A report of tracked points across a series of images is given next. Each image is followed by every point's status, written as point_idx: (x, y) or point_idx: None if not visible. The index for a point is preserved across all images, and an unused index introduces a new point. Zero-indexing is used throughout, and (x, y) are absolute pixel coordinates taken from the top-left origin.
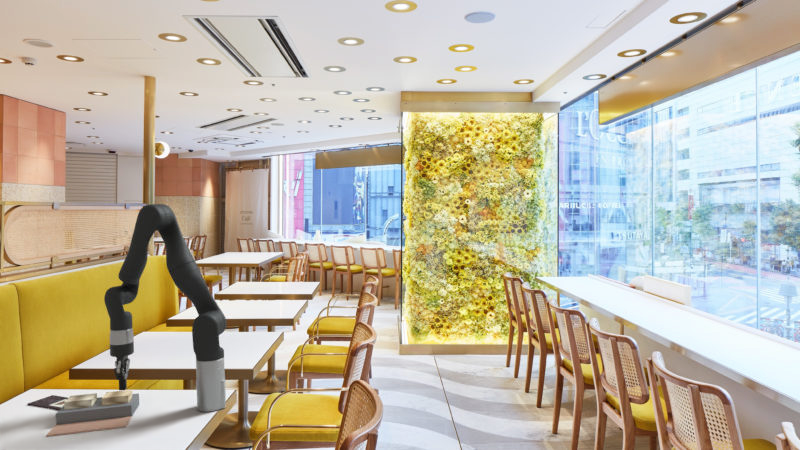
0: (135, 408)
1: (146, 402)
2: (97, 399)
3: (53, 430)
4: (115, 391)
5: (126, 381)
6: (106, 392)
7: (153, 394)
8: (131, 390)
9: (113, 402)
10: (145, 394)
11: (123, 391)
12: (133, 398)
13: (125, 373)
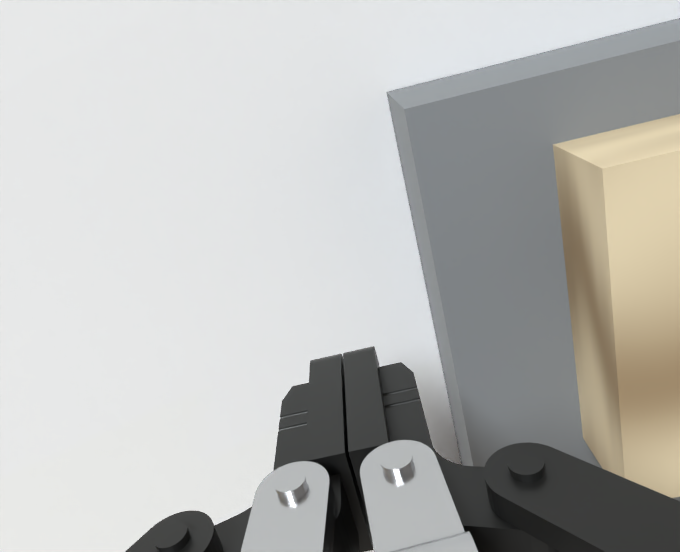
0: (624, 36)
1: (313, 26)
2: None
3: None
4: (629, 405)
5: (318, 420)
6: None
7: (4, 69)
8: (650, 160)
9: None
10: (17, 182)
11: (667, 281)
12: (648, 85)
13: (470, 540)
